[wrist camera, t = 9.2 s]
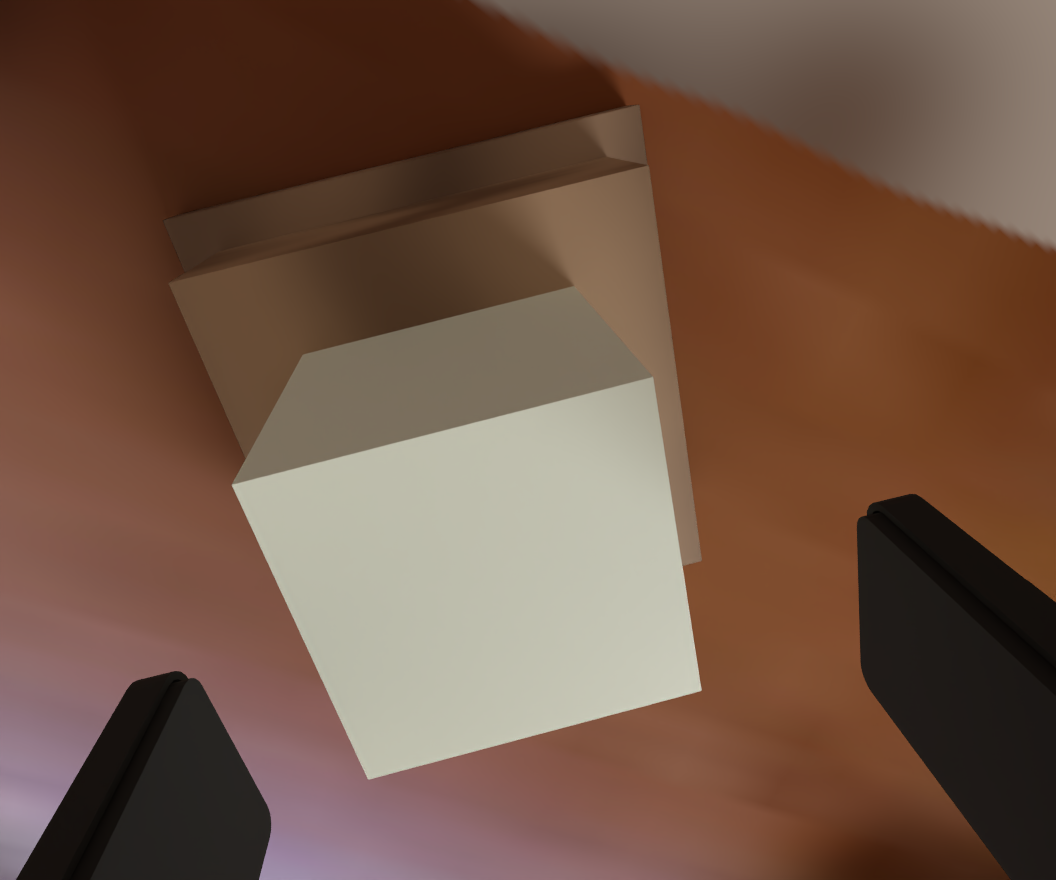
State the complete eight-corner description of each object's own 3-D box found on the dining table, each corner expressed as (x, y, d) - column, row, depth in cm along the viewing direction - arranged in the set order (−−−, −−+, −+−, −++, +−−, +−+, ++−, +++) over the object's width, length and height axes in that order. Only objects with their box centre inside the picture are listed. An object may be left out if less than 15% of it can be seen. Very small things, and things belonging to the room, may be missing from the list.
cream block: (573, 286, 15) (653, 376, 10) (619, 517, 18) (701, 690, 12) (302, 354, 15) (231, 484, 10) (387, 577, 18) (368, 779, 12)
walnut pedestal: (627, 105, 19) (690, 100, 14) (682, 493, 24) (741, 581, 19) (178, 214, 18) (95, 245, 14) (331, 583, 23) (308, 693, 19)
